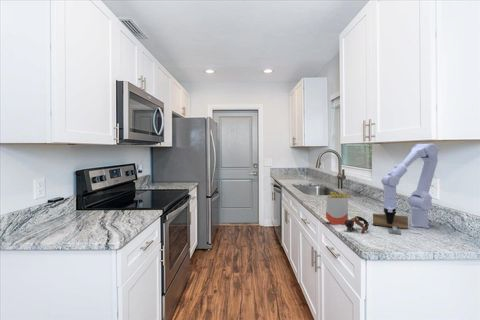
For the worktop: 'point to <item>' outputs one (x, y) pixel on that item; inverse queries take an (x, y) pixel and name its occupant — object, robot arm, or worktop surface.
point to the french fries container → (337, 208)
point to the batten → (397, 221)
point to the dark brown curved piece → (350, 223)
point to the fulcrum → (394, 230)
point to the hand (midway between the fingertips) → (389, 222)
